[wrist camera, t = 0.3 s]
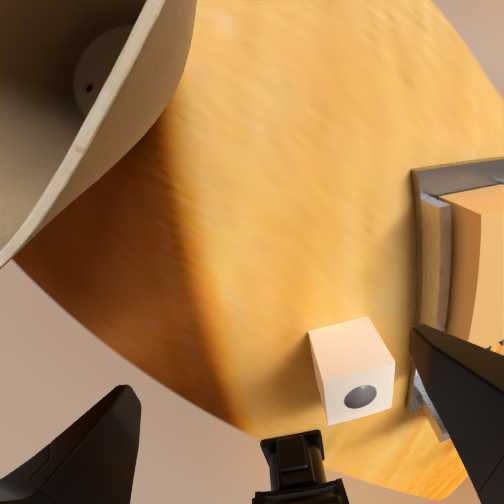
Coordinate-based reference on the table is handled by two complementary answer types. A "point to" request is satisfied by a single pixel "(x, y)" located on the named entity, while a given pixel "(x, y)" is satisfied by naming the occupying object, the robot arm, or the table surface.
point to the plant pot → (78, 97)
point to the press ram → (476, 266)
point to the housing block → (352, 370)
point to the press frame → (440, 253)
